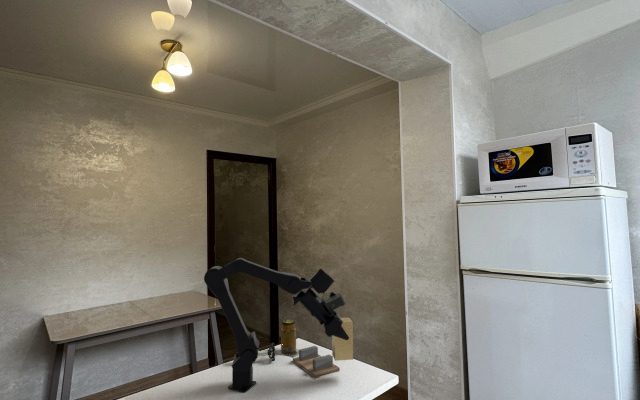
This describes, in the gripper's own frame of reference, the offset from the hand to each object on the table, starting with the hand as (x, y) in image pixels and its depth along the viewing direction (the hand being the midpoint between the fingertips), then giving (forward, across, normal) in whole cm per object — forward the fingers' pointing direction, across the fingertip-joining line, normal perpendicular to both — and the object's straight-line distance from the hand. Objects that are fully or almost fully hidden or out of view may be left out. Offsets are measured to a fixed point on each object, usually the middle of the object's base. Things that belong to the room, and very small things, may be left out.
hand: (346, 336), depth 108 cm
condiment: (-2, +25, +22) cm, 33 cm away
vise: (+3, +11, +16) cm, 19 cm away
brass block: (+4, 0, +6) cm, 7 cm away
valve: (-11, +18, +31) cm, 37 cm away
